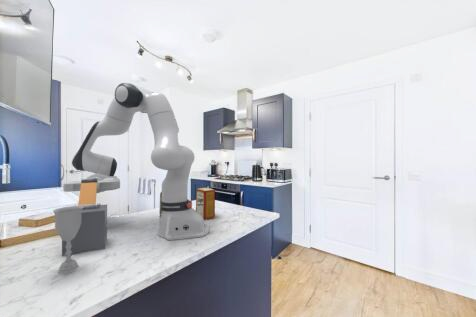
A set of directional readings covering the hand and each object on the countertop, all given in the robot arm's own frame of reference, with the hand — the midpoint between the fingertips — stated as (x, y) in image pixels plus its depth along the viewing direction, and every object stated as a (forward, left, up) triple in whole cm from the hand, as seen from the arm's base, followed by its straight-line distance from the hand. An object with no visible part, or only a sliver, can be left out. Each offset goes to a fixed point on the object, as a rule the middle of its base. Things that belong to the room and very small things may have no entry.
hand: (91, 187), depth 82 cm
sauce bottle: (-22, -28, -21) cm, 41 cm away
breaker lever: (-4, +8, -6) cm, 11 cm away
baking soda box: (-45, -27, -21) cm, 56 cm away
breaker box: (-4, +8, -21) cm, 23 cm away
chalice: (-8, +24, -21) cm, 33 cm away
